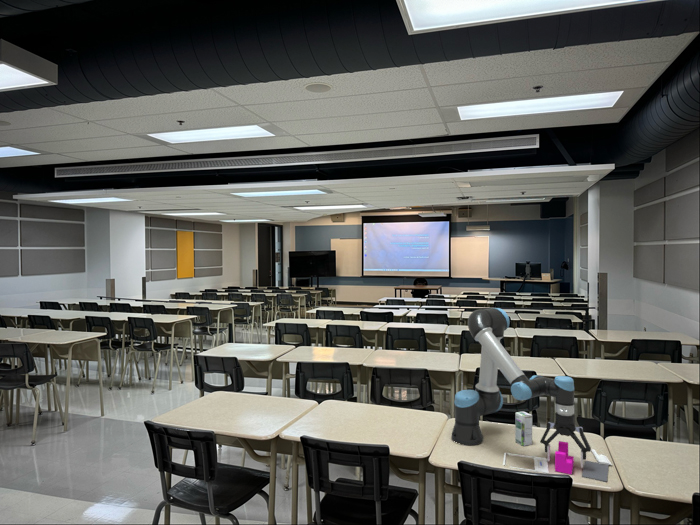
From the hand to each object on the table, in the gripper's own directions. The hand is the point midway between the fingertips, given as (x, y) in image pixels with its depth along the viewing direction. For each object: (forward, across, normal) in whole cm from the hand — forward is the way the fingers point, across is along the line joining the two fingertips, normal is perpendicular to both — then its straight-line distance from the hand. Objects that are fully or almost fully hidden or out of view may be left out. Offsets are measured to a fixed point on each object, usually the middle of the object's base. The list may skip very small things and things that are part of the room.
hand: (565, 463), depth 198 cm
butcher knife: (+1, +13, +16) cm, 21 cm away
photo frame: (+2, -15, -5) cm, 16 cm away
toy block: (+1, 0, 0) cm, 1 cm away
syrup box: (+1, -20, +17) cm, 26 cm away
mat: (+1, +12, +1) cm, 12 cm away
